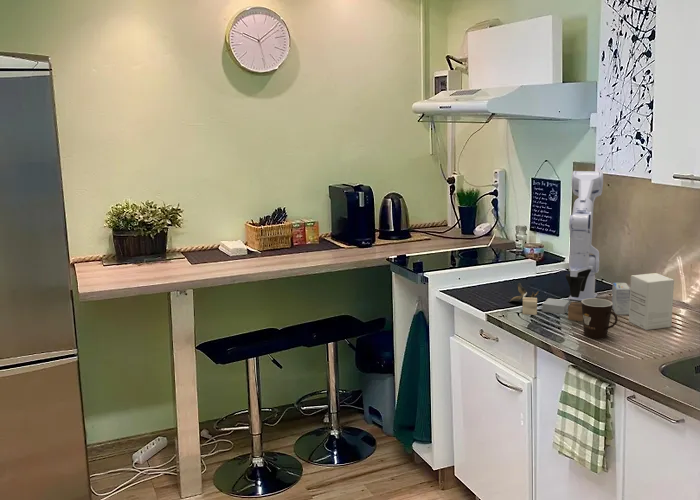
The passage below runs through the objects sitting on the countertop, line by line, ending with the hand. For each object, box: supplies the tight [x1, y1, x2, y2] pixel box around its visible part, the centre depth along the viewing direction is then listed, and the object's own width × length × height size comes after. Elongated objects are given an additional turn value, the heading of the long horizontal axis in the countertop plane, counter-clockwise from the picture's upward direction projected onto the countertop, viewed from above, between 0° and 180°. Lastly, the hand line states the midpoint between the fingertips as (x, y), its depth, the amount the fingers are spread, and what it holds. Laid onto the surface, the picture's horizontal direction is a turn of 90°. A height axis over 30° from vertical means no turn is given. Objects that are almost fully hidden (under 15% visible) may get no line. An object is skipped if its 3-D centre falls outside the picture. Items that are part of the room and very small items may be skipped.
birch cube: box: [522, 297, 538, 316], centre depth 229 cm, size 4×4×4 cm
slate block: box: [541, 297, 571, 315], centre depth 231 cm, size 7×7×3 cm
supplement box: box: [628, 272, 675, 331], centre depth 213 cm, size 9×9×15 cm
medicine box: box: [611, 282, 630, 316], centre depth 227 cm, size 8×4×9 cm, turn 168°
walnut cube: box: [567, 301, 583, 322], centre depth 222 cm, size 4×4×4 cm
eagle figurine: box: [508, 282, 540, 303], centre depth 239 cm, size 8×7×9 cm
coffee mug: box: [580, 297, 618, 340], centre depth 204 cm, size 12×9×10 cm
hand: (577, 293), depth 220 cm, fingers open, 7 cm apart
